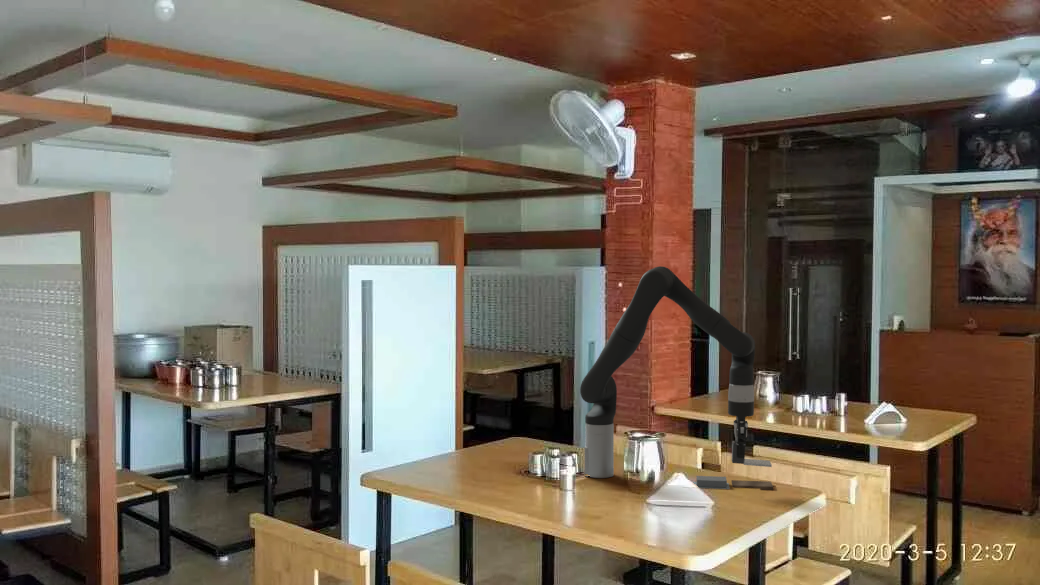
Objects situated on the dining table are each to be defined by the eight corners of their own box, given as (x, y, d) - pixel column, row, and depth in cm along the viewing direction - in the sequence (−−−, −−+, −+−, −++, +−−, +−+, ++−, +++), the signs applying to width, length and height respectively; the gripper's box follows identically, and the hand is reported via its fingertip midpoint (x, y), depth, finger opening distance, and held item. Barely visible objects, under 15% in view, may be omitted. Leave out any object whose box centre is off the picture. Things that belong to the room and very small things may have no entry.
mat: (683, 488, 274) (683, 487, 274) (683, 482, 282) (683, 481, 282) (729, 490, 271) (729, 489, 271) (728, 484, 279) (728, 483, 279)
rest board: (732, 488, 274) (732, 485, 273) (731, 483, 280) (731, 480, 280) (773, 490, 271) (773, 486, 271) (770, 484, 278) (770, 481, 278)
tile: (696, 480, 274) (726, 481, 272) (696, 475, 280) (725, 476, 278) (696, 487, 274) (726, 488, 272) (696, 482, 280) (725, 483, 278)
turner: (731, 459, 271) (732, 440, 271) (769, 462, 269) (770, 442, 269) (732, 463, 265) (733, 444, 265) (771, 467, 263) (772, 446, 263)
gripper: (756, 403, 260) (755, 462, 260) (751, 396, 274) (751, 452, 274) (729, 402, 261) (728, 460, 262) (726, 395, 275) (726, 451, 275)
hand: (740, 456), depth 268 cm, fingers closed on turner, 3 cm apart
